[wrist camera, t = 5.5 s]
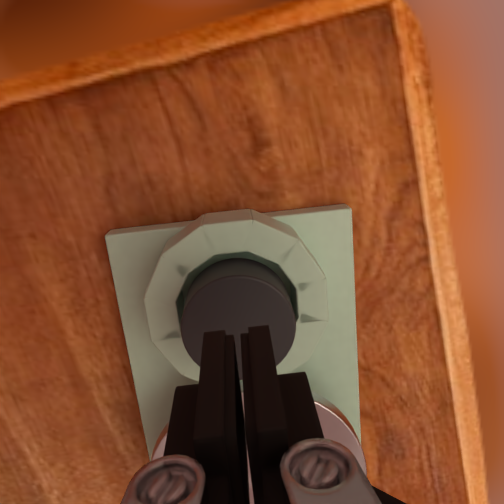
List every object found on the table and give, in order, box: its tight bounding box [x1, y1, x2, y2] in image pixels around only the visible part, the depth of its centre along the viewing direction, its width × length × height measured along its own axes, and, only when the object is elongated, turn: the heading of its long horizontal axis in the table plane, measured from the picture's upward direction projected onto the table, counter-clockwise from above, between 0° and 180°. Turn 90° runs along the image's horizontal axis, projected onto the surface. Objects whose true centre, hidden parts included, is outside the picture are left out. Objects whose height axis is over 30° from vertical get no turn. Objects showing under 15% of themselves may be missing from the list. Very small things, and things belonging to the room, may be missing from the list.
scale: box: [105, 204, 361, 462], centre depth 20 cm, size 14×10×3 cm
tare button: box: [181, 258, 296, 380], centre depth 17 cm, size 4×4×2 cm
